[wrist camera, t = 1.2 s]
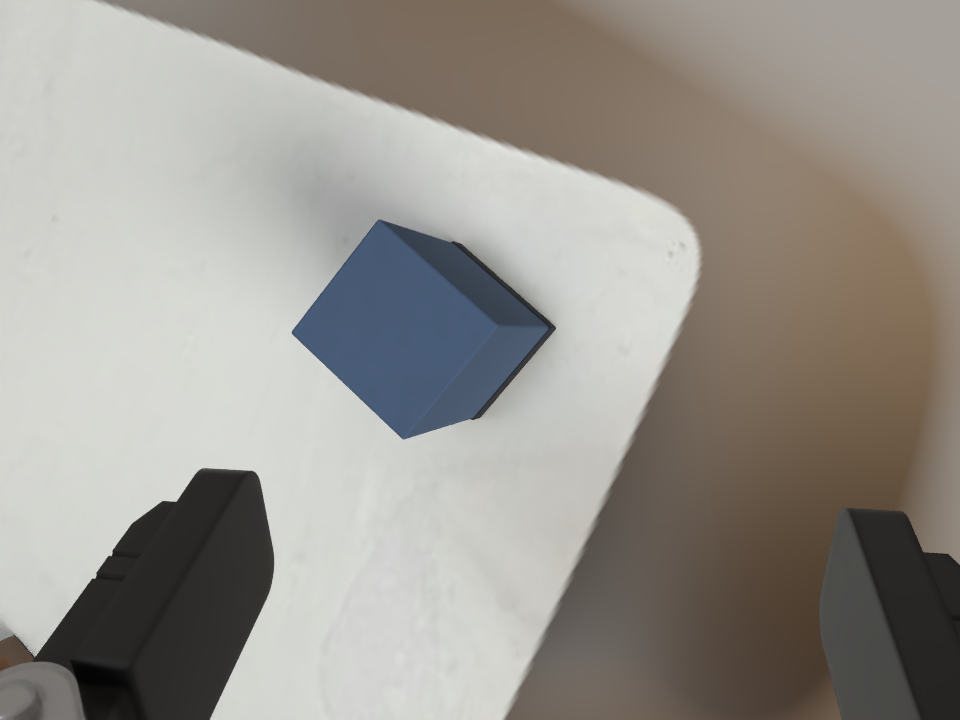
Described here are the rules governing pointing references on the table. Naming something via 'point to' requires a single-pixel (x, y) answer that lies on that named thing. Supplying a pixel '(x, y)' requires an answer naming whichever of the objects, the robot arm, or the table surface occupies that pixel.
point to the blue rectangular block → (421, 330)
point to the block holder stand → (13, 653)
